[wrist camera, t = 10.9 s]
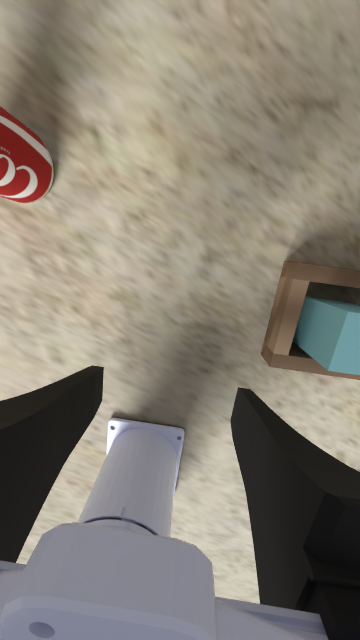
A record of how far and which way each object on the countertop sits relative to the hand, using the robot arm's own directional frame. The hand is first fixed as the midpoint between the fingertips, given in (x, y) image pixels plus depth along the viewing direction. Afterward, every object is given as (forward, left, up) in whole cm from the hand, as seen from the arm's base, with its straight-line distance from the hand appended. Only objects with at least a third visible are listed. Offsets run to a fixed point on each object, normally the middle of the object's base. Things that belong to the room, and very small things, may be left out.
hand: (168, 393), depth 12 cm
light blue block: (+3, -12, -10) cm, 16 cm away
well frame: (+4, -12, -9) cm, 16 cm away
